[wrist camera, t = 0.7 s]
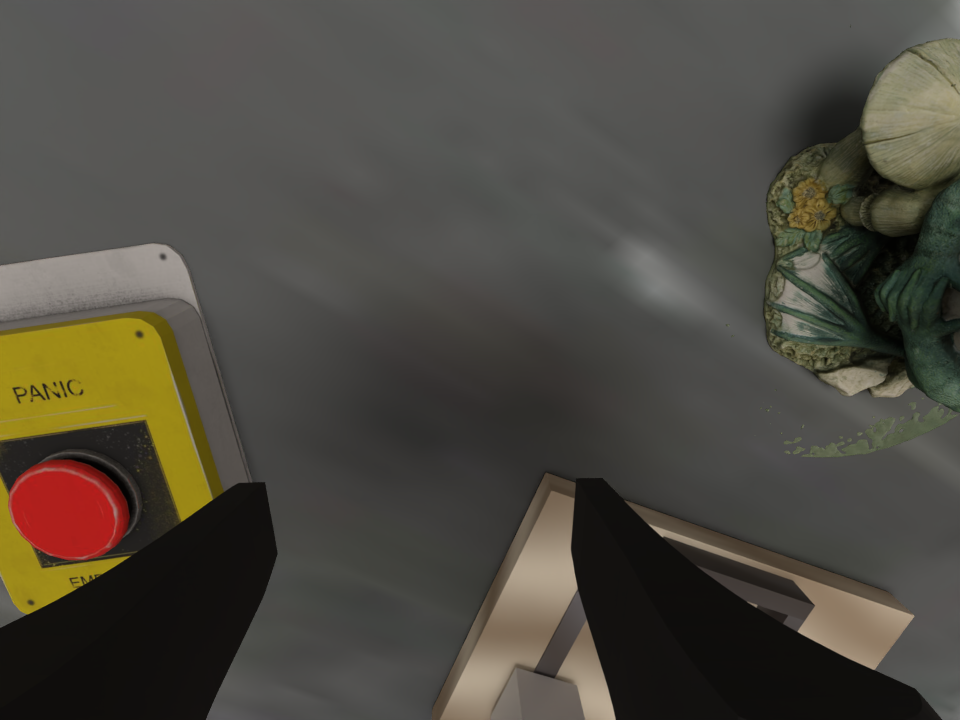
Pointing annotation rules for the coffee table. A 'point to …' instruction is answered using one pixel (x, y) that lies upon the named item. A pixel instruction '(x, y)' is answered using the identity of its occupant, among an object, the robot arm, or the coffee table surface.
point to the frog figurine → (876, 248)
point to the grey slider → (538, 699)
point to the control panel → (565, 631)
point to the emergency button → (104, 415)
